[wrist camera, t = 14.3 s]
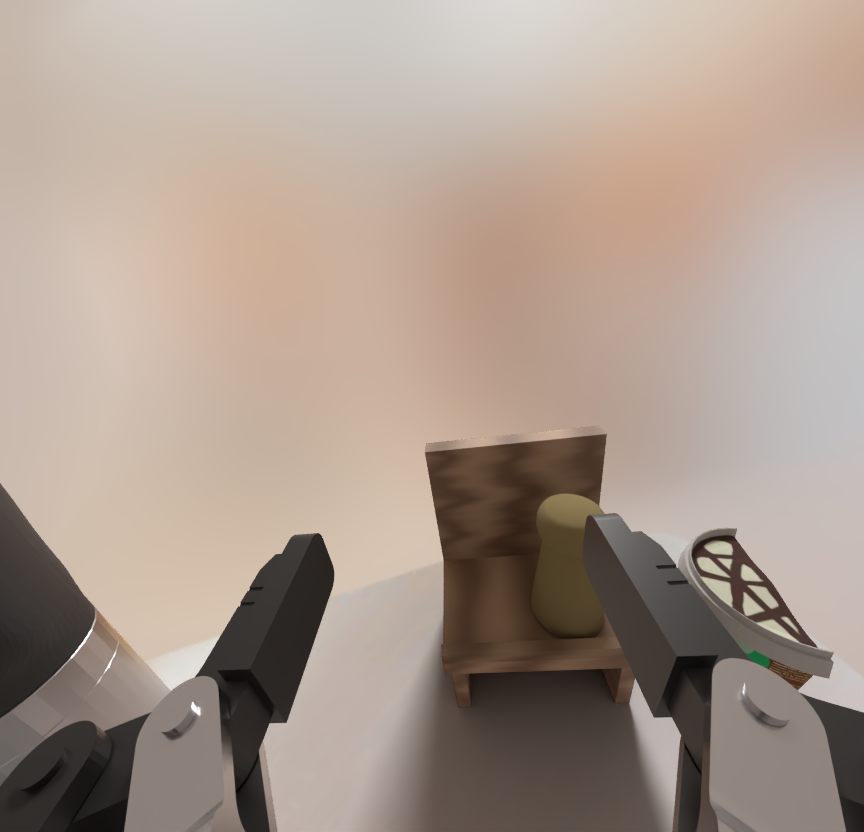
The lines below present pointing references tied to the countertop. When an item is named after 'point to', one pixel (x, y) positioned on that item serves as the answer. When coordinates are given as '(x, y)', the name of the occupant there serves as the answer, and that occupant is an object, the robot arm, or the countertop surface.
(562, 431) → the wooden chair
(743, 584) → the food container
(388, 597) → the countertop surface
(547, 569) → the cork
